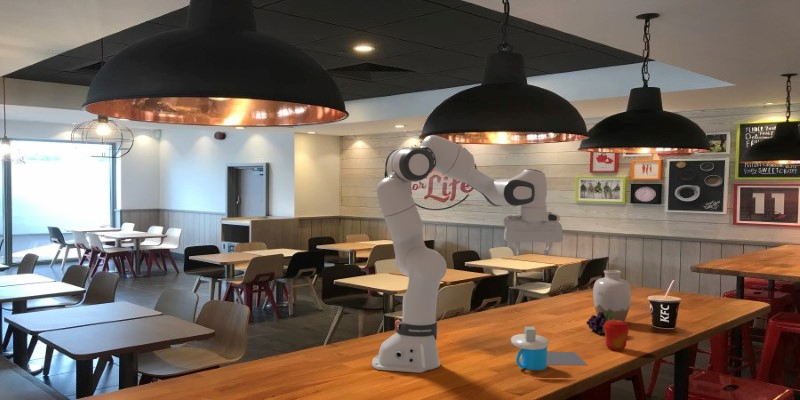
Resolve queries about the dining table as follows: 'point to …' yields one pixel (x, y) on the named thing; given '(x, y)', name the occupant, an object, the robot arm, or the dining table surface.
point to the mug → (532, 359)
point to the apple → (616, 334)
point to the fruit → (600, 321)
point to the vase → (612, 295)
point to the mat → (564, 358)
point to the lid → (529, 340)
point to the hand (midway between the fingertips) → (532, 255)
